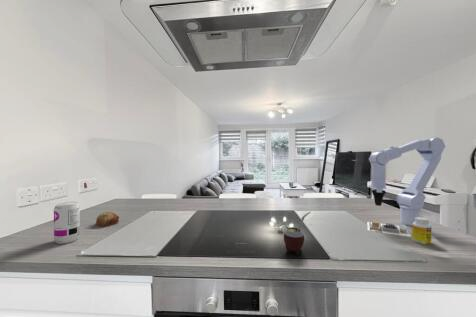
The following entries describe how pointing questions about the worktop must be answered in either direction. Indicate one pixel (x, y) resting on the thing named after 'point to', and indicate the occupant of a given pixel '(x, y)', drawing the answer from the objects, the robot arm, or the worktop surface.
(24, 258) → the worktop surface
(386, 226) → the black push button
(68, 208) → the supplement can
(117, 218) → the bread roll
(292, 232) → the mate gourd
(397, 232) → the switch board
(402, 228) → the grey rocker switch
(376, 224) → the tan block
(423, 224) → the supplement bottle
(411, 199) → the robot arm
